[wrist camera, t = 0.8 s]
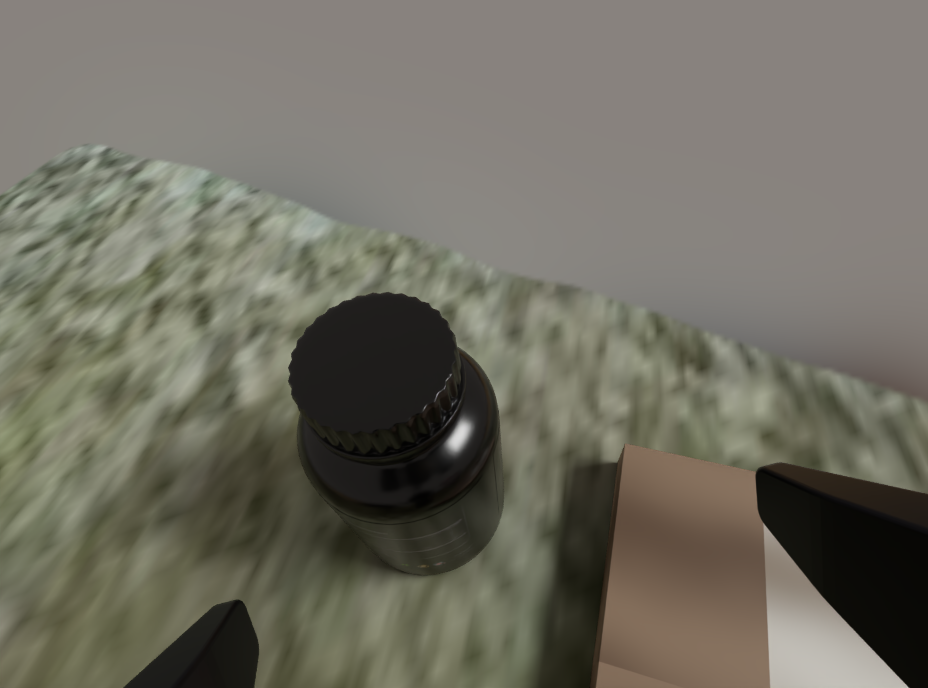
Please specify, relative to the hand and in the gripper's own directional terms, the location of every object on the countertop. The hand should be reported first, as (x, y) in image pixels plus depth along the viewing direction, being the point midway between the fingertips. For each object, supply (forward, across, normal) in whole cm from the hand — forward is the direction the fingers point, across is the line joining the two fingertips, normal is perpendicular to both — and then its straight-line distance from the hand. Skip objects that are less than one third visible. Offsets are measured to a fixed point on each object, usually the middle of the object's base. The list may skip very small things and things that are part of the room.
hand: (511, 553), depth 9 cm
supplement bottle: (+14, +2, +7) cm, 16 cm away
